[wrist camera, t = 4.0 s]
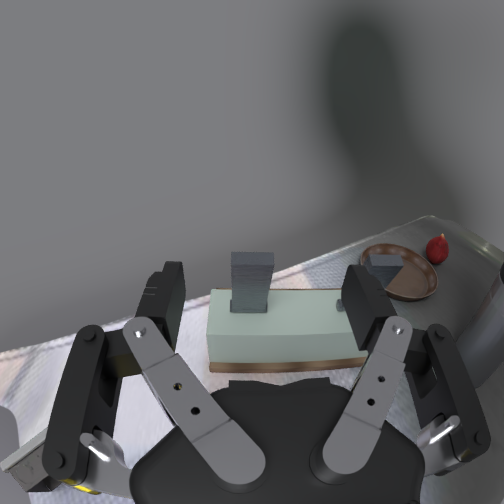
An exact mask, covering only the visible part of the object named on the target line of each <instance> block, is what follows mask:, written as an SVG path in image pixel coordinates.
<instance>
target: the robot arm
mask: <svg viewBox="0 0 504 504" xmlns="http://www.w3.org/2000/svg"><path fill="white" fill-rule="evenodd" d="M185 293H186V290H185V280H184V274H183V265H182V262H173V261H167V262H165V265H164V268H163V271H162V272H155V273H154V274H153V275H152V276H151V277H150V278H149V279H148V281H147V284H146V288H145V289H144V292H143V295H142V298H141V300H140V303H139V306H138V309H137V312H136V315H135V317H134V318H133V319H131V320H129V321H128V322H127V323H126V324H125V325H124V327H123V329H120V330H115V331H109V332H104V330H103V329H102V328H101V327H100V326H97V325H88V326H85V327H83V328H82V329H81V330H80V331H79V332H78V333H77V335H76V337H75V340H74V342H73V345H72V348H71V351H70V353H69V356H68V359H67V362H66V365H65V368H64V371H63V374H62V378H61V381H60V384H59V387H58V391H57V394H56V398H55V401H54V405H53V409H52V413H51V416H50V421H49V425H48V429H47V433H46V438H45V443H44V448H43V453H42V465H43V468H44V470H45V471H46V473H47V474H48V475H49V476H51V477H52V478H54V479H56V480H58V481H60V482H62V483H63V484H65V485H67V486H70V487H72V488H74V489H77V490H79V491H83V492H87V493H90V494H94V495H97V494H101V493H105V494H110V495H114V496H119V497H124V498H130V499H133V500H134V502H135V504H420V491H421V485H422V481H423V478H424V477H427V476H430V475H433V474H434V475H436V476H443V475H445V474H447V473H449V472H451V471H453V470H455V469H457V468H459V467H461V466H463V465H465V464H466V463H468V462H470V461H472V460H473V459H475V458H477V457H479V456H480V455H482V454H483V453H485V452H486V451H487V450H488V448H489V446H490V442H491V436H490V433H489V429H488V426H487V423H486V420H485V417H484V414H483V411H482V408H481V405H480V402H479V399H478V397H477V394H476V391H475V389H474V388H477V387H479V386H481V385H482V384H483V383H484V382H485V381H486V380H487V379H488V378H489V377H490V375H491V374H492V373H493V372H494V371H495V370H496V369H497V368H498V367H499V366H500V365H501V363H502V362H503V361H504V263H503V265H502V267H501V269H500V271H499V273H498V275H497V277H496V279H495V281H494V283H493V285H492V286H491V288H490V290H489V292H488V294H487V295H486V297H485V299H484V300H483V302H482V304H481V305H480V307H479V309H478V310H477V312H476V313H475V315H474V316H473V318H472V320H471V321H470V323H469V324H468V326H467V327H466V329H465V330H464V331H463V333H462V334H461V336H460V337H459V338H458V340H457V341H456V343H455V342H454V340H453V338H452V336H451V334H450V332H449V331H448V329H447V328H445V327H444V326H442V325H440V324H432V325H430V326H429V327H428V329H427V331H424V330H418V329H414V328H412V326H411V324H410V323H409V322H408V321H407V320H406V319H404V318H402V317H399V316H398V315H397V313H396V311H395V309H394V307H393V305H392V303H391V301H390V299H389V297H388V296H387V293H386V291H385V290H384V288H383V286H382V284H381V282H380V281H379V280H378V279H377V278H376V277H375V276H374V275H370V274H369V272H368V270H367V269H366V267H365V265H349V266H348V268H347V272H346V275H345V279H344V282H343V285H342V289H341V299H342V303H343V305H344V308H345V311H346V314H347V317H348V320H349V323H350V326H351V329H352V332H353V335H354V338H355V341H356V344H357V347H358V350H359V351H365V350H367V351H368V356H367V357H366V359H365V362H364V364H363V366H362V368H361V370H360V372H359V374H358V376H357V378H356V380H355V381H354V383H353V385H352V387H351V389H350V390H347V389H345V388H343V387H341V386H338V385H334V384H331V383H330V379H329V377H325V378H311V379H304V380H300V381H297V382H293V383H290V384H286V385H282V386H279V385H274V384H268V383H263V382H259V381H236V380H229V387H227V388H223V389H220V390H217V391H215V392H212V393H211V394H209V393H208V391H207V390H206V389H205V388H204V386H203V385H202V384H201V383H200V381H199V380H198V379H197V377H196V376H195V375H194V373H193V372H192V371H191V369H190V368H189V367H188V365H187V364H186V363H185V361H184V360H183V359H182V357H181V356H180V355H179V354H178V353H176V354H175V348H176V343H177V337H178V332H179V327H180V322H181V316H182V311H183V307H184V302H185ZM432 367H433V368H434V371H435V373H436V376H437V380H436V377H435V375H434V372H433V369H432ZM403 371H404V372H405V374H406V377H407V381H408V384H409V387H410V391H411V394H412V397H413V401H414V405H415V408H416V412H417V416H418V420H419V424H420V428H421V431H420V432H419V434H418V437H417V444H415V443H413V442H412V441H411V440H410V439H408V438H407V437H406V436H405V435H403V434H402V433H401V432H400V431H398V430H397V429H396V428H395V427H393V426H392V425H391V424H390V423H389V422H387V421H386V420H385V418H386V416H387V413H388V411H389V408H390V406H391V404H392V401H393V398H394V396H395V393H396V391H397V388H398V385H399V382H400V380H401V377H402V374H403ZM138 374H142V376H143V378H144V380H145V381H146V383H147V385H148V386H149V388H150V390H151V391H152V393H153V395H154V396H155V398H156V400H157V401H158V403H159V404H160V406H161V408H162V410H163V411H164V413H165V414H166V416H167V418H168V419H169V421H170V422H171V424H172V425H173V426H174V428H173V429H172V430H171V431H170V432H169V433H168V434H167V435H166V436H165V437H164V438H163V439H161V440H160V441H159V442H158V443H157V444H156V445H155V446H154V447H153V448H152V449H151V450H150V451H149V452H148V453H146V454H145V455H144V456H143V457H142V458H141V459H140V460H139V461H138V462H137V463H136V464H135V466H134V467H133V469H132V470H131V469H128V467H127V466H126V464H125V461H124V453H123V450H122V448H121V447H120V445H119V444H118V443H116V442H115V441H114V440H113V433H114V426H115V419H116V413H117V407H118V401H119V395H120V390H121V384H122V379H123V377H127V376H132V375H138Z"/></svg>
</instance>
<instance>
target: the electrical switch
mask: <svg viewBox="0 0 504 504" xmlns="http://www.w3.org/2000/svg"><path fill="white" fill-rule="evenodd" d="M47 429H48V427H47V428H45V429H44V430H43V431H42V432H40V433H39V434H38V435H36V436H35V437H34V438H32V439H31V440H30V441H28V442H27V443H26V444H25V445H23V446H22V447H21V448H19V449H18V450H17V451H15V452H14V453H13V454H11V455H10V456H9V457H7V458H6V459H5V460H3V461H2V462H1V463H0V467H1V469H2V470H3V472H5V473H9V472H10V473H11V474H12V476H13V477H14V479H15V480H16V481H17V482H18V483H19V484H20V485H21V487H22V488H23V489H24V490H25V492H51V491H52V490H53V489H55V488H56V487H57V486H59V485H60V484H61V483H62V482H60V481H59V482H58V480H56V479H54V478H52V477H51V476H49V475H48V474H47V473H46V471H45V470H44V468H43V465H42V453H43V448H44V443H45V438H46V433H47ZM47 487H48V488H49V489H50V490H49V489H48V488H47Z"/></svg>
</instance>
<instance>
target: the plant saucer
mask: <svg viewBox="0 0 504 504" xmlns="http://www.w3.org/2000/svg"><path fill="white" fill-rule="evenodd" d="M369 254H378V255H401V258H402V261H403V264H404V266H403V268H402V269H401V270H400V271H399V273H398V274H397V275H396V276H395V278H394V279H393V280H392V281H391V283H390V284H389V285H388V286H387V287H386V289H385V291H386V293H387V296H388V297H391V298H393V299H396V300H401V301H415V300H420V299H423V298H426V297H428V296H429V295H431V294H432V293H434V292H435V290H436V289H437V287H438V276H437V273H436V271H435V269H434V268H433V266H432V265H431V264H430V263H429V262H428V261H427V260H426V259H425V258H424V257H422V256H421V255H420V254H418V253H416V252H415V251H413V250H410V249H408V248H406V247H403V246H399V245H395V244H388V243H380V244H375V245H371V246H369V247H367V248H366V249H365V250H364V251H363V252H362V254H361V259H360V260H361V265H363V263H364V262H365V260H366V258H367V257H368V255H369Z"/></svg>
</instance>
